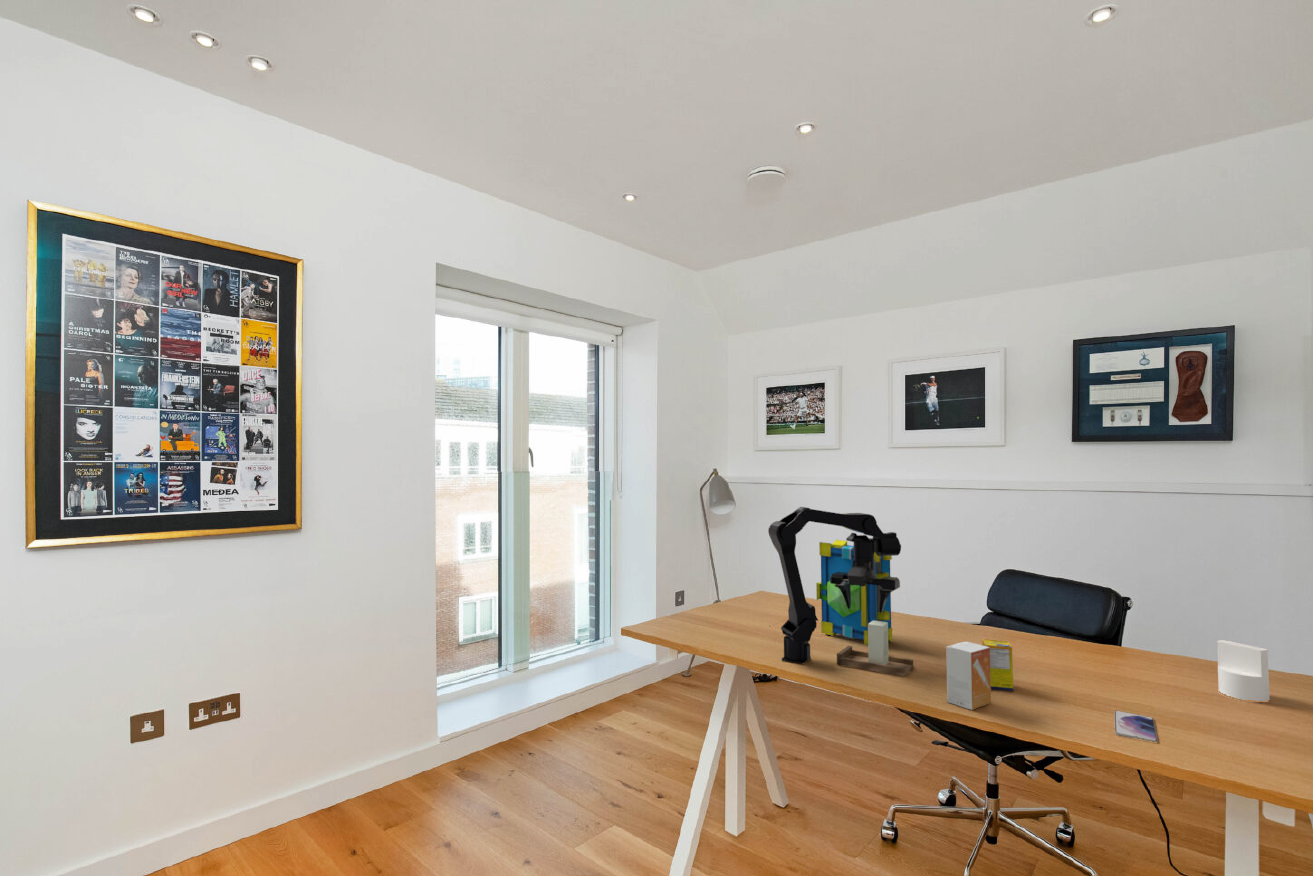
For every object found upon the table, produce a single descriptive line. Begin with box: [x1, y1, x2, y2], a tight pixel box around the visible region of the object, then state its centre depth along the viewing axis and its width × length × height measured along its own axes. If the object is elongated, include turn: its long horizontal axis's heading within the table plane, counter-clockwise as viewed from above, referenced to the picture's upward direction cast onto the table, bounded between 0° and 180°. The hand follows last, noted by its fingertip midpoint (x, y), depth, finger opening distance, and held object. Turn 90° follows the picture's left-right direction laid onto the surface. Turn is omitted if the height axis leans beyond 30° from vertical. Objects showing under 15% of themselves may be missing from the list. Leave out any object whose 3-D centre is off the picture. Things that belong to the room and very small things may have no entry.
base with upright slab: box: [1216, 639, 1271, 701], centre depth 152 cm, size 9×9×12 cm
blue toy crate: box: [815, 539, 893, 646], centre depth 204 cm, size 14×23×30 cm, turn 40°
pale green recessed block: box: [867, 620, 889, 665], centre depth 175 cm, size 4×5×11 cm
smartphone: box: [1113, 710, 1159, 743], centre depth 135 cm, size 7×1×15 cm
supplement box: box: [981, 638, 1014, 692], centre depth 159 cm, size 6×6×11 cm
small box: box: [945, 640, 992, 711], centre depth 149 cm, size 8×6×13 cm
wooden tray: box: [836, 645, 914, 678], centre depth 176 cm, size 18×10×3 cm, turn 55°
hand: (864, 610), depth 185 cm, fingers open, 9 cm apart
